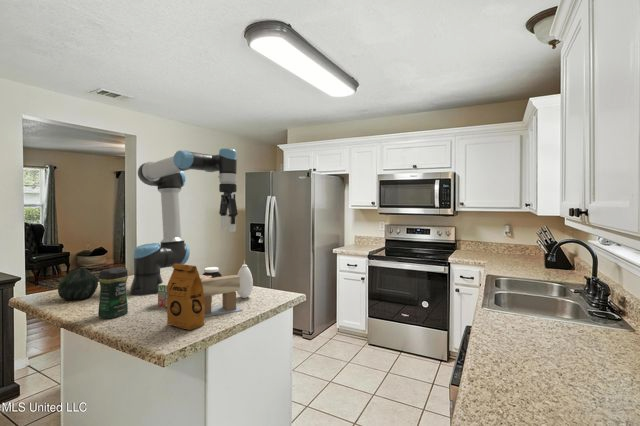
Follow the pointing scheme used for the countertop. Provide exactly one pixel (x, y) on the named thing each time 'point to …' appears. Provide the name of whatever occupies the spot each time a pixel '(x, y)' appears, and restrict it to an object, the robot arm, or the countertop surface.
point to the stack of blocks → (163, 291)
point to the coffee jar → (113, 292)
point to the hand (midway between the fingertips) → (227, 230)
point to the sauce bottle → (245, 281)
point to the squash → (77, 284)
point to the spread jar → (212, 272)
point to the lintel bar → (221, 285)
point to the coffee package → (185, 298)
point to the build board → (221, 311)
